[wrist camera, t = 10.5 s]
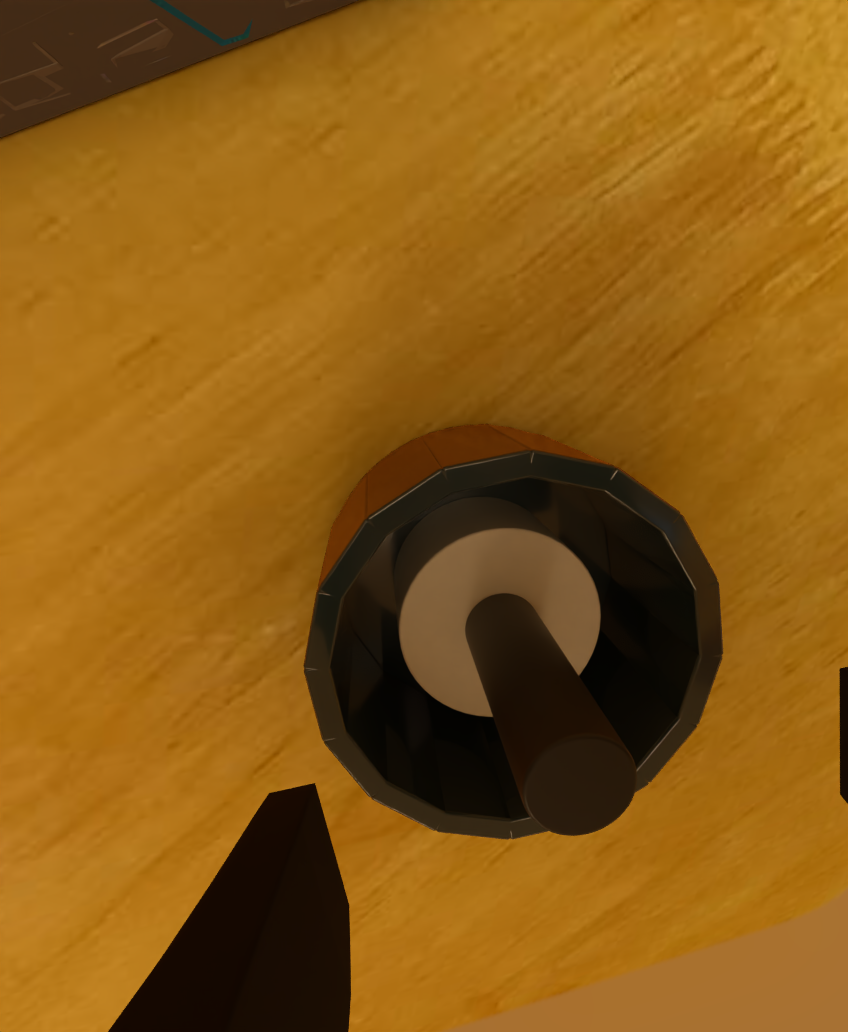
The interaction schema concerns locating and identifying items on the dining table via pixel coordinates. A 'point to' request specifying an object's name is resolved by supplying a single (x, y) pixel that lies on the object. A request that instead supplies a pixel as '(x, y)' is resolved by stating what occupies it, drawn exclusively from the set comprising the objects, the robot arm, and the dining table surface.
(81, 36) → the electronic device
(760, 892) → the dining table surface
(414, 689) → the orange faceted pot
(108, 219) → the dining table surface
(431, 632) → the brush
